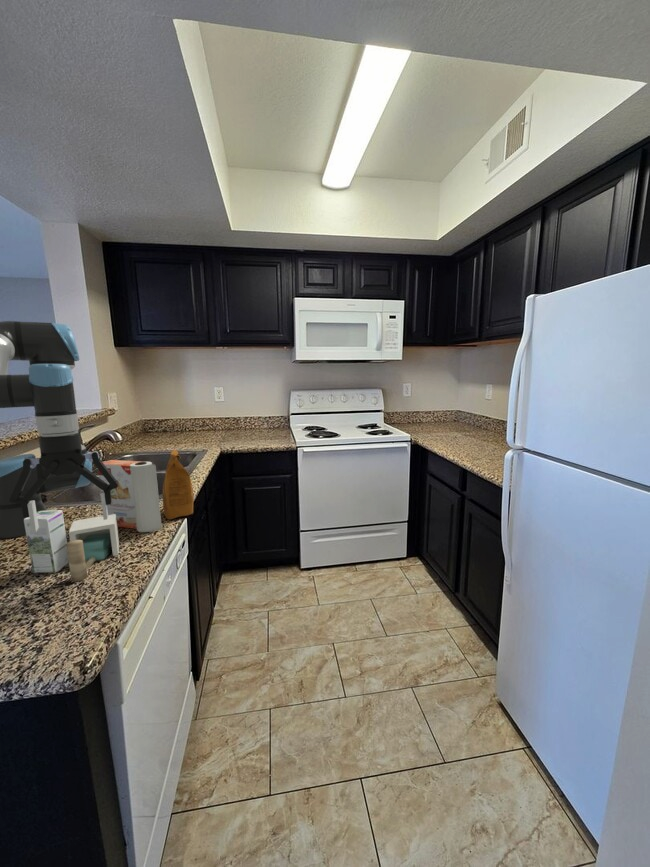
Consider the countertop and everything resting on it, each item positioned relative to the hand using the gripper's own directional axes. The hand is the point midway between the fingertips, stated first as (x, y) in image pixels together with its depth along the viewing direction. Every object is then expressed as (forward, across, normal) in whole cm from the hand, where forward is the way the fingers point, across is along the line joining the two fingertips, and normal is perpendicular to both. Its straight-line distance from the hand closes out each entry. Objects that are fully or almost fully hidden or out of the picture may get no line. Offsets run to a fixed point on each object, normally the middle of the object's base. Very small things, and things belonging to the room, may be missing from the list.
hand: (72, 523), depth 84 cm
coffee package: (+14, +26, +32) cm, 44 cm away
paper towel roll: (+14, +16, +23) cm, 31 cm away
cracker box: (+14, +10, +30) cm, 34 cm away
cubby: (+14, +3, +12) cm, 19 cm away
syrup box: (+14, -7, +10) cm, 18 cm away
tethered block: (+14, +1, +6) cm, 15 cm away
